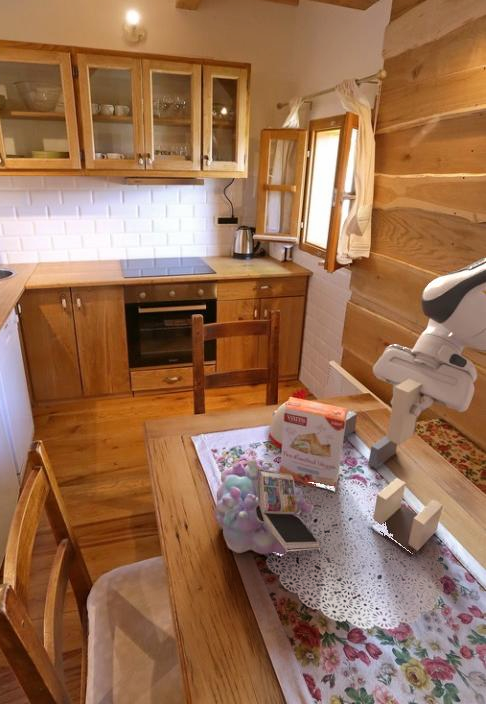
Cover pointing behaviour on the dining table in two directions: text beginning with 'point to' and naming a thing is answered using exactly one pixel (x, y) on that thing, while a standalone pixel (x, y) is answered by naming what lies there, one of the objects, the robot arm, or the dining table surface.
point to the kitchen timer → (281, 420)
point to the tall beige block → (404, 411)
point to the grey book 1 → (350, 423)
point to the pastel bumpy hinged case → (262, 510)
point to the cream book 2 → (425, 524)
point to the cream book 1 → (389, 501)
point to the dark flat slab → (401, 529)
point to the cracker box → (312, 441)
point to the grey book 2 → (381, 452)
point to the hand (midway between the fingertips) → (403, 410)
